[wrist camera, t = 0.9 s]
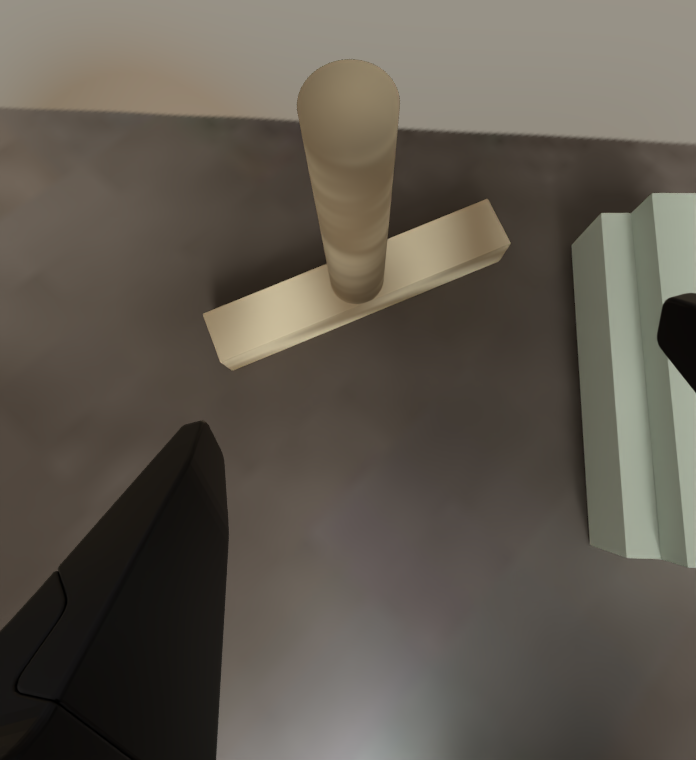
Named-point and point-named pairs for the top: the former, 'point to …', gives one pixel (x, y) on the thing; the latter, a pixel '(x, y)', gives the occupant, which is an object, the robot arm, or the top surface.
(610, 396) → the ridge
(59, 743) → the robot arm
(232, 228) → the top surface
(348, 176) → the rubber stamp
